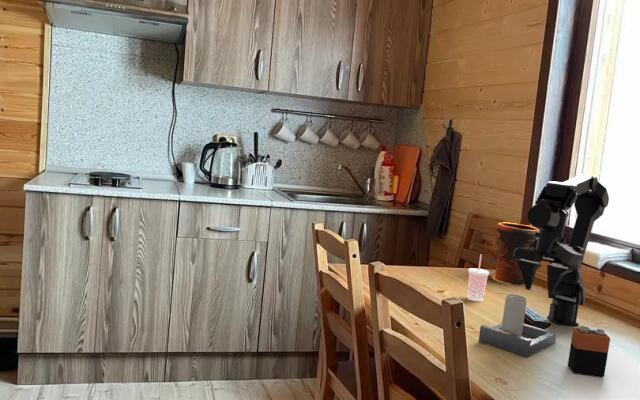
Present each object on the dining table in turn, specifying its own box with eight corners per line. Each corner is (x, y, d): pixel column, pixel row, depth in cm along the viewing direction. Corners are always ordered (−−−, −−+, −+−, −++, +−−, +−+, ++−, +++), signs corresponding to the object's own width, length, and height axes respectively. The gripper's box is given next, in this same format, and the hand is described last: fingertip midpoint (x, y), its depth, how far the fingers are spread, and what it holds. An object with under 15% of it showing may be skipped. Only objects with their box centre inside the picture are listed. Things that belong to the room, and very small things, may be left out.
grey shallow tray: (509, 328, 164) (512, 313, 163) (555, 342, 156) (557, 326, 155) (477, 342, 150) (479, 325, 150) (525, 358, 142) (527, 340, 142)
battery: (566, 366, 140) (573, 323, 139) (598, 370, 139) (605, 327, 138) (572, 373, 136) (579, 329, 134) (604, 378, 135) (611, 333, 134)
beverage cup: (480, 303, 187) (486, 257, 185) (461, 298, 190) (467, 253, 189) (488, 300, 192) (494, 255, 190) (469, 295, 195) (475, 251, 194)
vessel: (497, 272, 233) (506, 220, 230) (535, 282, 225) (545, 228, 222) (483, 278, 221) (491, 223, 218) (522, 288, 213) (532, 231, 210)
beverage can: (524, 348, 149) (531, 300, 147) (506, 349, 147) (514, 299, 146) (512, 341, 153) (518, 294, 152) (495, 341, 152) (502, 294, 150)
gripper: (556, 230, 147) (543, 295, 147) (601, 241, 157) (588, 302, 157) (518, 224, 156) (505, 285, 156) (563, 234, 166) (551, 291, 166)
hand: (539, 291), depth 159 cm, fingers open, 9 cm apart
